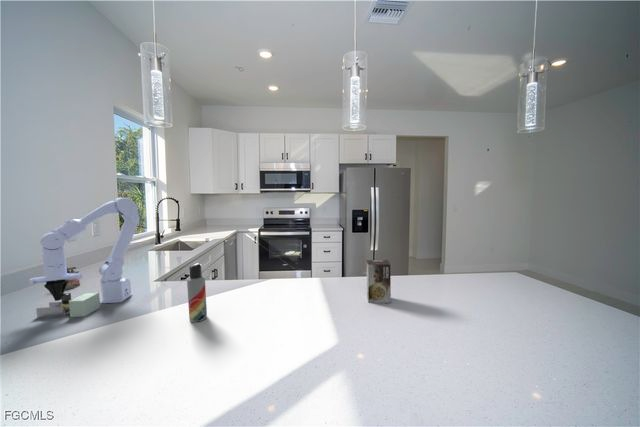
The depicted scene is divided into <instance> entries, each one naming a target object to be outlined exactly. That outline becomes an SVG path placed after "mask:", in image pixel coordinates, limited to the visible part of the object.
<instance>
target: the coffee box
mask: <svg viewBox="0 0 640 427" xmlns="http://www.w3.org/2000/svg"><path fill="white" fill-rule="evenodd" d="M391 269H392V268H391V263H390V261H389V260H388V259H366V298H367V299H366V300H367V302H368V303H372V304H373V303H374V304H379V303H380V304H391V303H392V302H391V301H392V300H391V298H392V297H391V296H392V294H391V292H392V291H391V289H392V288H391V287H392V286H391V282H392V281H391V280H392V279H391Z"/></svg>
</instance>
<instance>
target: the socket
mask: <svg viewBox="0 0 640 427" xmlns="http://www.w3.org/2000/svg"><path fill="white" fill-rule="evenodd" d="M100 300H101V299H100V292H87V293H86V292H85V293H84V294H83V293H82V295H79V296H77V297H75V298H73V299H71V301H69V308H70V313H69V315H70V316H69V317H70V318H77V317H87V316H88V315H90V314H91V313H93V312H95V311H96V310H98V309H100V308H101V303H100Z"/></svg>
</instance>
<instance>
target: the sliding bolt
mask: <svg viewBox="0 0 640 427" xmlns="http://www.w3.org/2000/svg"><path fill="white" fill-rule="evenodd" d="M71 294H72V293H71V292H66V293H65V292H64V294H62V295H61V300H60V301H61V302H62V303H61V305H60V307H64V306H65V311H68V310H70V308H69V301H71V300H72V295H71Z"/></svg>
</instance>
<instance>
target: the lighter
mask: <svg viewBox="0 0 640 427" xmlns="http://www.w3.org/2000/svg"><path fill="white" fill-rule="evenodd" d="M77 267H78V266H76V265H74V266H70V267H67V266H66V268H67V273H80V270H79V269H78V268H77ZM80 282H81V281H80V279H78V280H76V279H74V280H69V282H68V284H67V285H66V288H65V290H68V289H72V288H76V287H80V286H81V283H80Z"/></svg>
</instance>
